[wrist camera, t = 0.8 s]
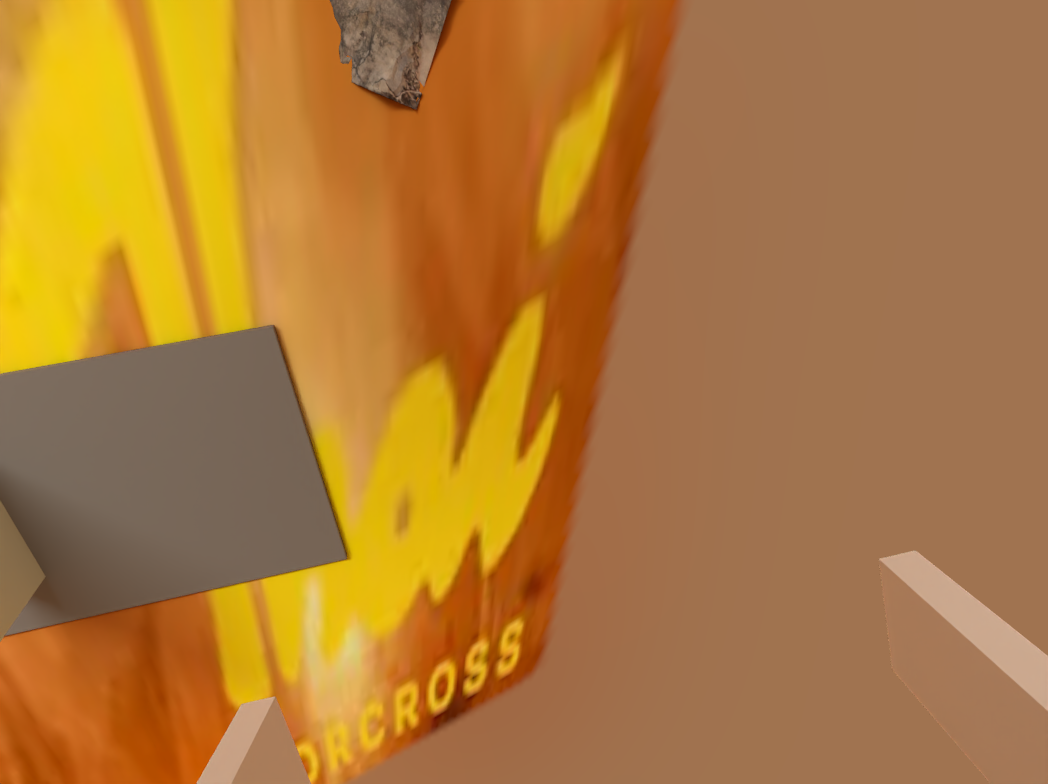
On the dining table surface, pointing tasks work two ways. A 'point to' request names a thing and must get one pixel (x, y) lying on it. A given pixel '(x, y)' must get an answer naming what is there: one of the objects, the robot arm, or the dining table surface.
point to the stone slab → (390, 43)
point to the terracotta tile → (15, 572)
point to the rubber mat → (160, 474)
